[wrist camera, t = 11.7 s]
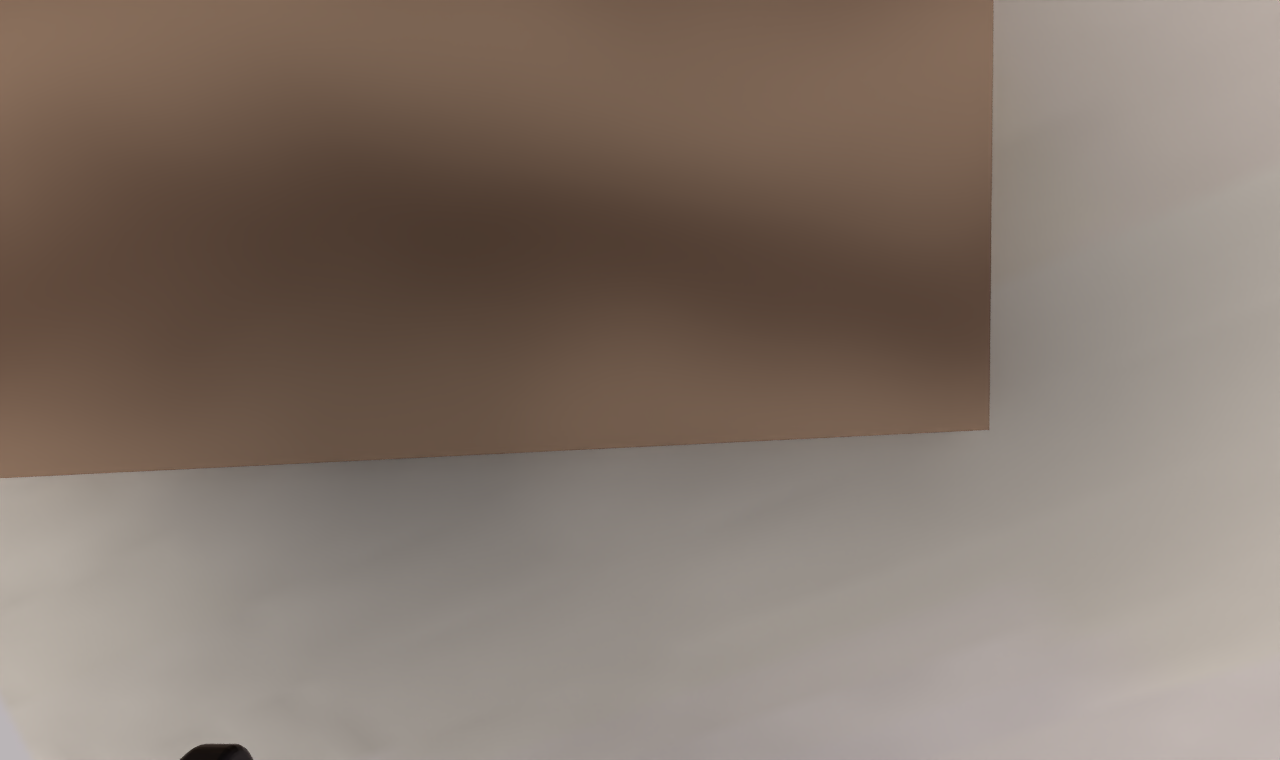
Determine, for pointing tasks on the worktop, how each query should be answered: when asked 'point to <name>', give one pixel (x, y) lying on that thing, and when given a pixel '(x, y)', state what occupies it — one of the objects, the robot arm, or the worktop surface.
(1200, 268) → the worktop surface
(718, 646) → the worktop surface
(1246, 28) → the worktop surface
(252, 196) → the dock
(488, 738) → the worktop surface
